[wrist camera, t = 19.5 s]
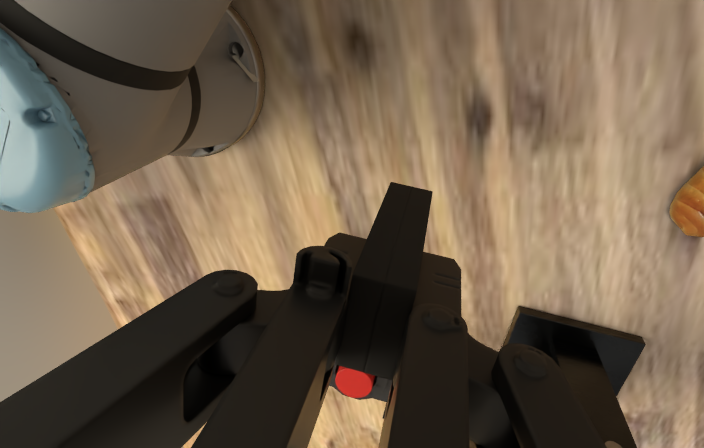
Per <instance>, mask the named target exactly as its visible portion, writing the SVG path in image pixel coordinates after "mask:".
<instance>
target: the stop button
mask: <svg viewBox="0 0 704 448" xmlns="http://www.w3.org/2000/svg"><path fill="white" fill-rule="evenodd" d="M374 378H375V376H374V375H371V374H367V373H364V372H360V371H356V370H353V369H349V368H346V367H342V366H339V369H338V372H337V374H336V378H335V382H336V386H337V387H338V389H339V390H340V391H341V392H342V393H343V394H345V395H347V396H349V397H353V398H361V397H364V396H366V395H368V394H369V393H370V392H371V390H372V386H373V382H374Z"/></svg>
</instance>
